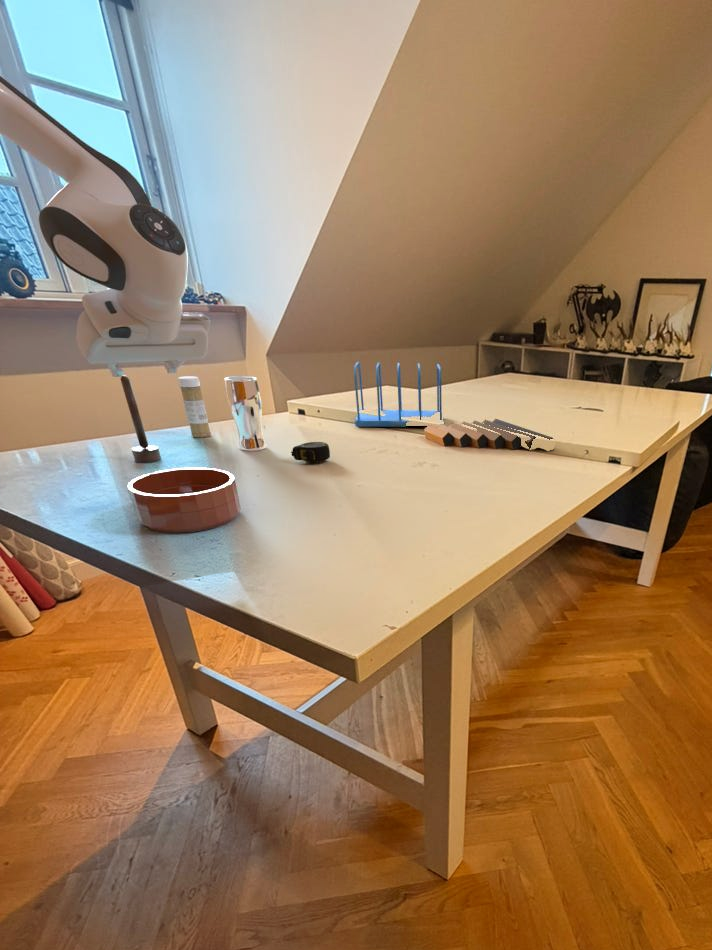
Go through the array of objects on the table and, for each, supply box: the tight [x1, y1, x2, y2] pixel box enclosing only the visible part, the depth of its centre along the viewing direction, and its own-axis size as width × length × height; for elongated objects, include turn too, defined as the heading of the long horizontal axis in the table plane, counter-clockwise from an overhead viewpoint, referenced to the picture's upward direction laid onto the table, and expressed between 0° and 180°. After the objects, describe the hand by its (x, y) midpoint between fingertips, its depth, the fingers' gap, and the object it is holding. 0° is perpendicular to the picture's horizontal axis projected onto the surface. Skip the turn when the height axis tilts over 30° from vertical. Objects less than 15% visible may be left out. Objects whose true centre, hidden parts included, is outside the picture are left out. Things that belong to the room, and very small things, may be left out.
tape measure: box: [290, 441, 331, 463], centre depth 119 cm, size 7×7×4 cm
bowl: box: [127, 467, 242, 534], centre depth 87 cm, size 15×15×6 cm
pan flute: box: [423, 418, 554, 451], centre depth 140 cm, size 25×3×25 cm
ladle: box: [120, 375, 162, 464], centre depth 111 cm, size 5×5×16 cm
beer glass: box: [224, 375, 268, 452], centre depth 124 cm, size 7×7×15 cm
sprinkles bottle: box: [177, 375, 212, 438], centre depth 132 cm, size 5×5×14 cm
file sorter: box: [353, 361, 443, 428], centre depth 155 cm, size 25×17×15 cm
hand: (144, 372), depth 99 cm, fingers open, 8 cm apart
